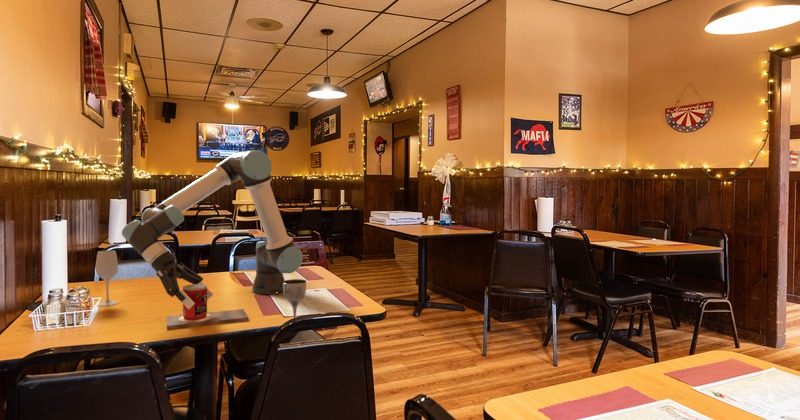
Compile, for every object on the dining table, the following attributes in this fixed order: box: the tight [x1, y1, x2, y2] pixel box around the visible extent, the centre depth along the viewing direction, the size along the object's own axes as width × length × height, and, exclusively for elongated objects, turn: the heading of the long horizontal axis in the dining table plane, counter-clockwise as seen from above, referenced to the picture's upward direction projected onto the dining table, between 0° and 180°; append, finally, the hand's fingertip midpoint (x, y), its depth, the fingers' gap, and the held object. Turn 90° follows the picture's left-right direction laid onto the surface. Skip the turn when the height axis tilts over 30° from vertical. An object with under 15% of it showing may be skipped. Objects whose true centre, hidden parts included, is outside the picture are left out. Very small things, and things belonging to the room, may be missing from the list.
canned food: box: [182, 283, 208, 320], centre depth 166 cm, size 8×8×11 cm
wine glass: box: [283, 278, 307, 319], centre depth 165 cm, size 8×8×15 cm
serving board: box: [166, 308, 249, 330], centre depth 168 cm, size 26×12×2 cm, turn 116°
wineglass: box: [95, 249, 119, 307], centre depth 188 cm, size 8×8×21 cm
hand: (201, 301), depth 166 cm, fingers open, 13 cm apart
